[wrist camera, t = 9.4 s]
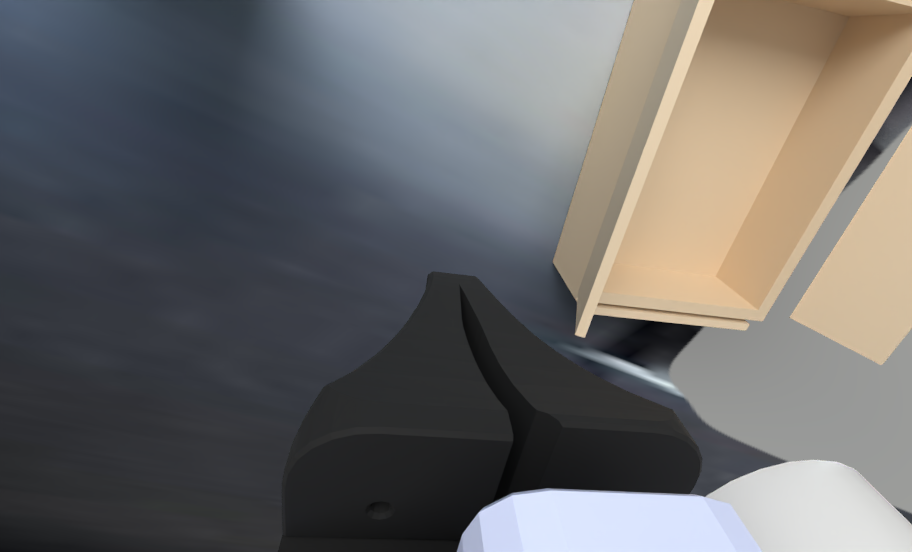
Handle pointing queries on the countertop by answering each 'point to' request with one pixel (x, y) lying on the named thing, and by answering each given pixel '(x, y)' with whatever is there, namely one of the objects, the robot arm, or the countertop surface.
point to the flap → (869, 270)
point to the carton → (735, 152)
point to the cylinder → (815, 510)
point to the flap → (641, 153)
